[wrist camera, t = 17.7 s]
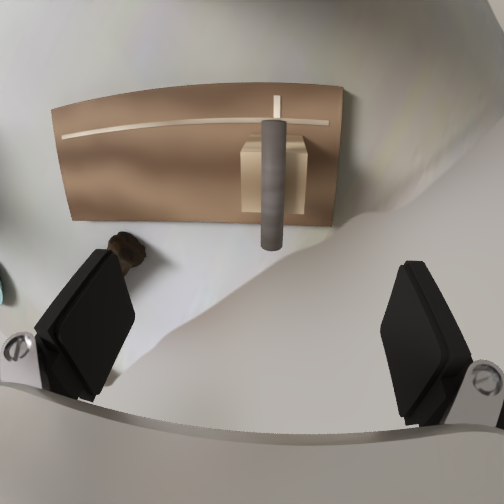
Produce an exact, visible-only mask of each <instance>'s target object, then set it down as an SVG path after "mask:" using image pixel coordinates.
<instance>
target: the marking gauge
mask: <svg viewBox="0 0 504 504" xmlns="http://www.w3.org/2000/svg"><path fill="white" fill-rule="evenodd" d="M286 134H287V122H286V121H283V120H263V121H261V134H250V135H249V137H248V139H247V141H246V143H245V144H244V146H243V148H242V150H241V152H240V157H241V205H242V212H261V247H262V248H263V249H264V250H267V251H277V250H279V249H281V248H282V241H283V220H284V213H286V214H304V206H305V191H306V175H307V157H308V153H307V150H306V147H305V143H304V140H303V137H302V135H286Z"/></svg>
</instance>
